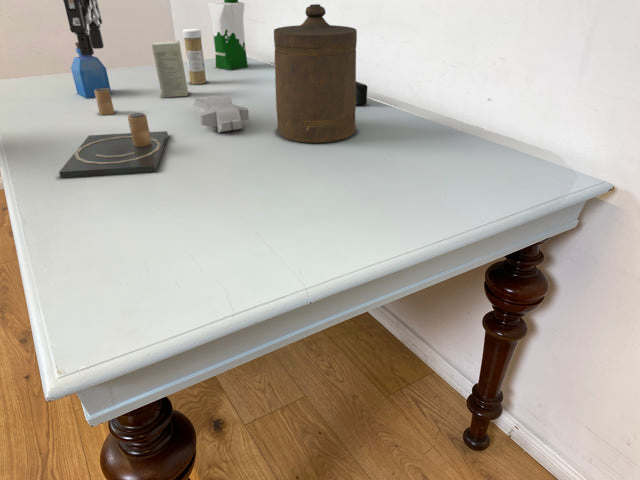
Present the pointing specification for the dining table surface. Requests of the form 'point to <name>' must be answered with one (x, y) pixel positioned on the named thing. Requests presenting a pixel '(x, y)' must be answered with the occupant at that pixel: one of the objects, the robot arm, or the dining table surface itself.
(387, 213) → the dining table surface
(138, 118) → the peg right
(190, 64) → the sprinkles bottle
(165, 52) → the cosmetic box
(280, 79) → the wooden container
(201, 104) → the grey angular block
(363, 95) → the mobile phone
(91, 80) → the perfume bottle
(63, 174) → the slate board
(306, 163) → the dining table surface
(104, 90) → the peg left
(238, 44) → the milk carton
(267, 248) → the dining table surface
